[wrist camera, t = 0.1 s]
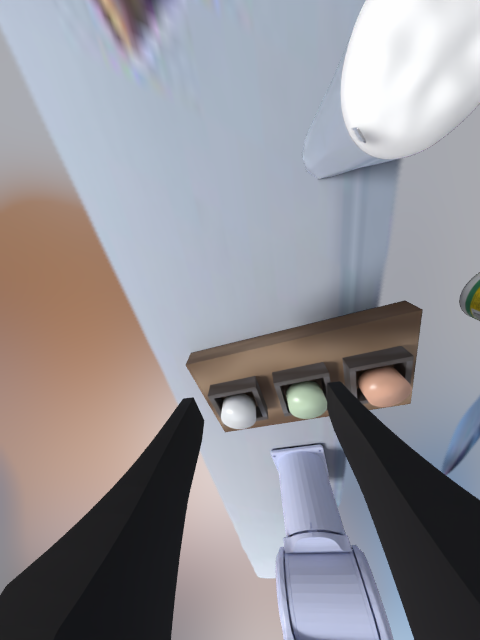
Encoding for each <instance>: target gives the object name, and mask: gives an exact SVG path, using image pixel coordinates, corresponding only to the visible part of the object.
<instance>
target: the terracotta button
mask: <svg viewBox="0 0 480 640" xmlns="http://www.w3.org/2000/svg"><path fill="white" fill-rule="evenodd" d="M358 386H359V388H360V390H361V391H362V393H363V394H364V396H365V397H366V399H367V400H368V402H369V403H370V404H372V405H374V406H377V407H389V406H393V405H396V404H398V403H400V402H402V401H404V400H405V399H406V398H407V397H408V396H409V395H410V393H411V385H410V383H409V382H408V381H407V380H406V379H405V378H404V377H403V376H402V375H401V374H400V373H399V372H398V371H397V370H396V369H395V368H393V367H391V366H381V367H376V368H371V369H368V370H367V371H365V372H364V373H363V374H362V375H361V376H360V377H359V379H358Z"/></svg>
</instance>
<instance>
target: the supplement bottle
mask: <svg viewBox="0 0 480 640" xmlns="http://www.w3.org/2000/svg"><path fill="white" fill-rule="evenodd" d="M459 303H460V307H461V309H462V311H463V312H464V313H465V314H467V315H469V316H470V317H472V318H475V319H477V320H479V321H480V272H479V273H478V274H476V276H474V277H473V278H472V279H471V280H470V281H469V282H468V283H467V284H466V286H465V287H464V289H463V291H462V293H461V295H460V300H459Z"/></svg>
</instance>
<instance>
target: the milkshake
mask: <svg viewBox="0 0 480 640" xmlns="http://www.w3.org/2000/svg"><path fill="white" fill-rule="evenodd" d="M479 104H480V0H366V1H365V3H364V5H363V7H362V9H361V11H360V14H359V16H358V18H357V21H356V23H355V26H354V29H353V31H352V34H351V36H350V38H349V41H348V43H347V45H346V48H345V50H344V53H343V55H342V57H341V60H340V62H339V64H338V67H337V69H336V71H335V74H334V76H333V79H332V81H331V83H330V85H329V87H328V89H327V92H326V94H325V96H324V98H323V100H322V102H321V104H320V106H319V109H318V111H317V113H316V115H315V117H314V119H313V121H312V124H311V126H310V128H309V130H308V132H307V134H306V138H305V143H304V147H303V151H302V158H303V161H304V165H305V168H306V171H307V172H308V173H310V174H311V175H313V176H314V177H316V178H317V179H322V178H326V177H331V176H335V175H339V174H342V173H345V172H348V171H351V170H355V169H358V168H361V167H366V166H371V165H376V164H380V163H384V162H388V161H392V160H396V159H401V158H405V157H409V156H412V155H414V154H417V153H419V152H422V151H424V150H426V149H428V148H429V147H431V146H433V145H434V144H436V143H437V142H438V141H440V140H441V139H442V138H444V137H445V136H446V135H447V134H449V133H450V132H451V131H452V130H453V129H454V128H456V127H457V126H458V125H459V124H460V123H461V122H463V121H464V120H465V119H466V118H467V117H468V116H469V115H470V114H471V113H472V112H473V110H474V109H475V108H476V107H477V106H478V105H479Z"/></svg>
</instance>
